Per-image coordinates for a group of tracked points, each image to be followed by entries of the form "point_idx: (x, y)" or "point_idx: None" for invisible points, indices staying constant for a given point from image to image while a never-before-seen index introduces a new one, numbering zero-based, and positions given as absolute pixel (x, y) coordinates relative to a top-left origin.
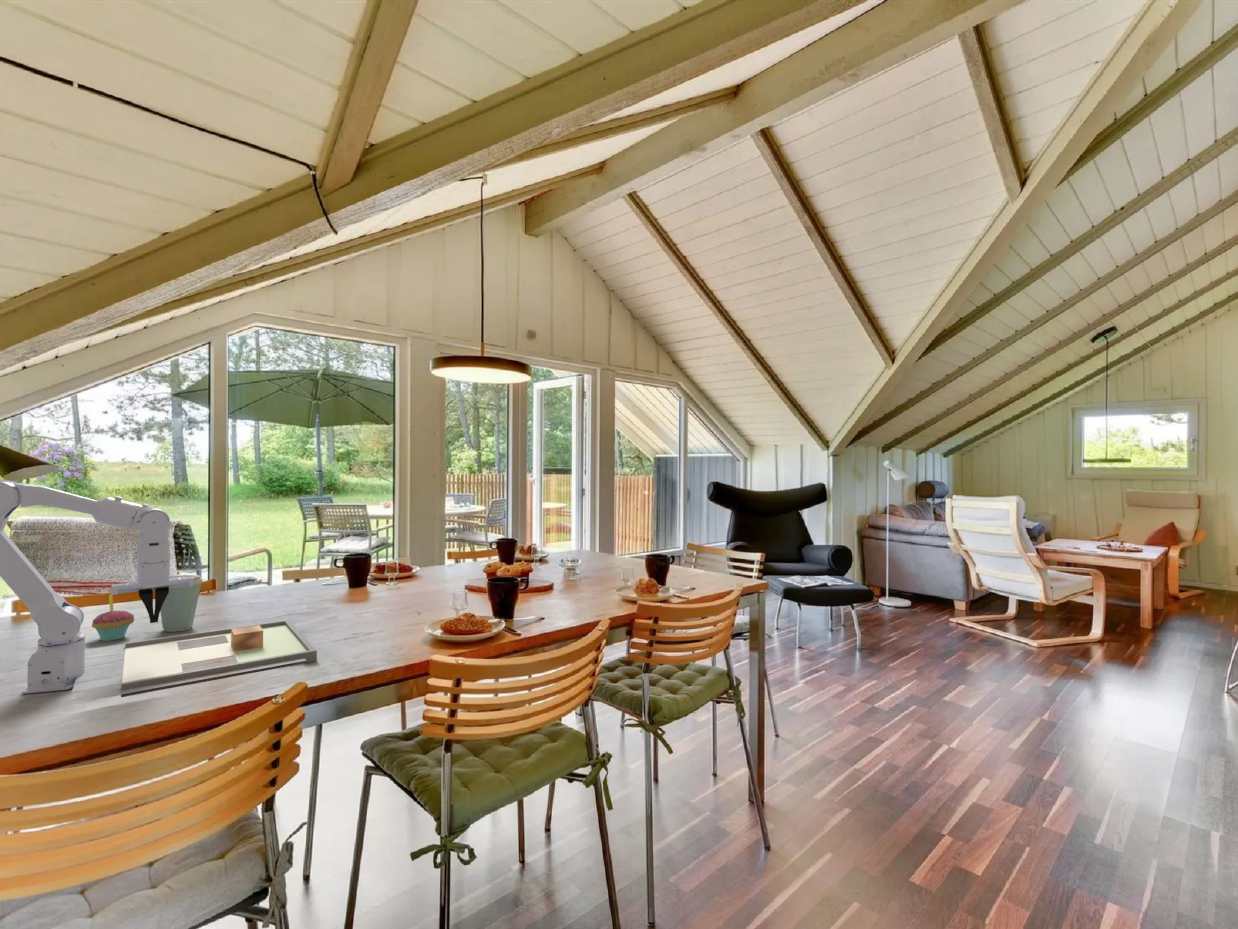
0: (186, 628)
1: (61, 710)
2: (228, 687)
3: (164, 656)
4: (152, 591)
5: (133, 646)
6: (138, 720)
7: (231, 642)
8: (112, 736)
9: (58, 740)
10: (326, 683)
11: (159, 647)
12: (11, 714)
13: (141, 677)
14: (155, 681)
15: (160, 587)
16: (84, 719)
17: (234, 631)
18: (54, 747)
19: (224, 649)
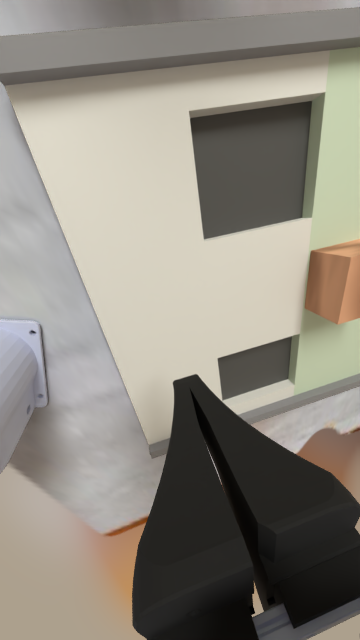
0: None
1: (88, 466)
2: (266, 429)
3: (178, 289)
4: (252, 613)
5: (33, 81)
6: None
7: (317, 259)
8: None
9: (129, 517)
10: (345, 433)
11: (143, 167)
12: (19, 472)
13: (165, 411)
14: None
15: (321, 621)
16: (132, 486)
17: (348, 290)
18: (132, 525)
19: (293, 283)
